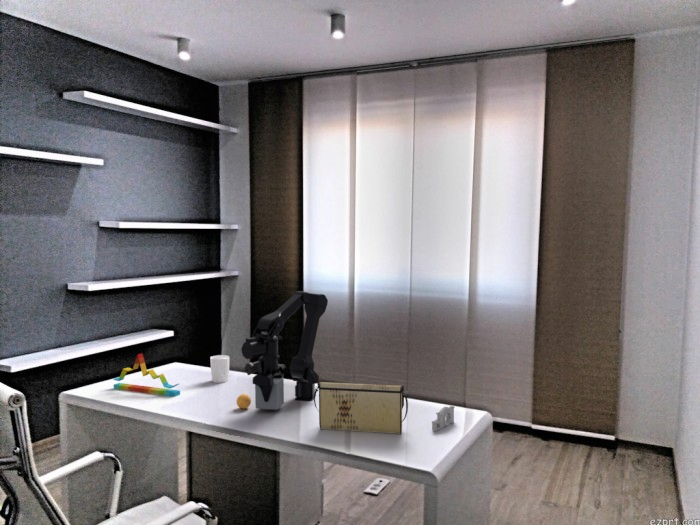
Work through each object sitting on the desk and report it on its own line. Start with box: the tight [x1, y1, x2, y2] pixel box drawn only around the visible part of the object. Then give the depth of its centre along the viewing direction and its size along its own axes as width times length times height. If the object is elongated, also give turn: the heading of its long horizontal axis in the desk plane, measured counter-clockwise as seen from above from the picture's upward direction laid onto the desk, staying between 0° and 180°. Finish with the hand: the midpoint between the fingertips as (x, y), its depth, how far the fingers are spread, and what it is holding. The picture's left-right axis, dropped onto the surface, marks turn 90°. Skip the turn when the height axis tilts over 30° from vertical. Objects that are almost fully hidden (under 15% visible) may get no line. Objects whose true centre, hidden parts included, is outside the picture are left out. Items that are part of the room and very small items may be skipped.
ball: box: [236, 393, 252, 410], centre depth 200 cm, size 5×5×5 cm
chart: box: [113, 352, 181, 398], centre depth 222 cm, size 30×3×15 cm, turn 67°
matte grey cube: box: [254, 377, 285, 411], centre depth 198 cm, size 8×8×9 cm
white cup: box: [209, 354, 230, 384], centre depth 238 cm, size 8×8×10 cm
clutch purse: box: [313, 381, 409, 435], centre depth 178 cm, size 30×7×15 cm, turn 79°
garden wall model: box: [431, 404, 455, 432], centre depth 180 cm, size 12×2×6 cm, turn 141°
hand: (270, 398), depth 198 cm, fingers closed on matte grey cube, 8 cm apart
